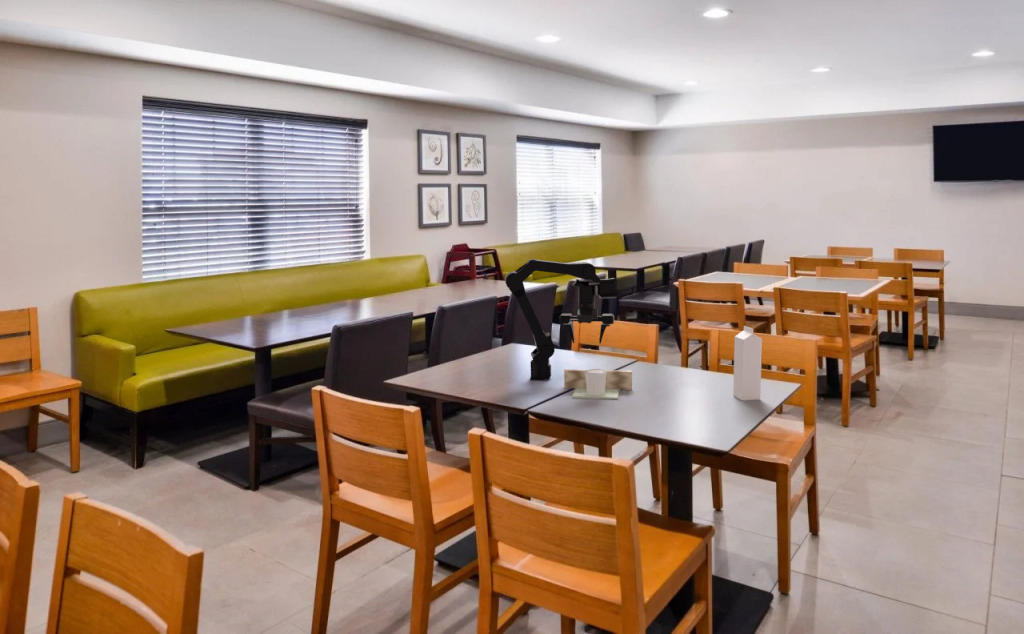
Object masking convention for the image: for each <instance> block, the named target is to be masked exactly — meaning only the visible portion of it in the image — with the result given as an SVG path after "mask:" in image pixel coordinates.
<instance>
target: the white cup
mask: <svg viewBox="0 0 1024 634" xmlns="http://www.w3.org/2000/svg"><path fill="white" fill-rule="evenodd" d="M585 370H586V371H585V377H586V387H587V393H588V394H591V395H602V394H604V393H605V385H606V374H607V372H606V371H605V370H606V369H600V368H597V369H596V368H593V369H585Z"/></svg>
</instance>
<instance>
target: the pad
mask: <svg viewBox="0 0 1024 634" xmlns="http://www.w3.org/2000/svg"><path fill="white" fill-rule="evenodd" d="M574 389H575V390H574V392H573V394H572V399H587V400H588V399H591V400H592V399H593V400H595V399H597V400H618V399H619V396H620V395H619V393H620V389H605V393H604V394H602V395H591V394H588V393H587V389H582V388H574Z"/></svg>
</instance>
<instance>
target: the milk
mask: <svg viewBox="0 0 1024 634" xmlns="http://www.w3.org/2000/svg"><path fill="white" fill-rule="evenodd" d="M733 343H734V345H733V346H734V350H733V389H732V391H733V393H732V395H733V397H734V398H737V400H740V401H742V402H744V401H755V400H756V401H757V400H758V401H759V400H761V390H762V389H761V386H762V354H763V352H762V350H763V349H762V348H763V338H762V337H760V336H758V335H756V334H754V328H752V327H749V326H746V325H743V330H742V331H740V332H739V333H738V334H735V335H734V342H733Z"/></svg>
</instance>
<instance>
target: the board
mask: <svg viewBox="0 0 1024 634" xmlns="http://www.w3.org/2000/svg"><path fill="white" fill-rule="evenodd" d="M586 370H587V369H571V368H570V369H564V370H563V373H564V375H563V380H564V382H563V383H564V384H563V385H564V388H563V389H576V388H582V389H587V387H586V377H585V371H586ZM604 370H605V371H606V372H607V374H606V385H605V389H619V390H621V389H623V390H624V391H625V390H627V391H628V390H633V370H616V369H615V370H614V369H604Z"/></svg>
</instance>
